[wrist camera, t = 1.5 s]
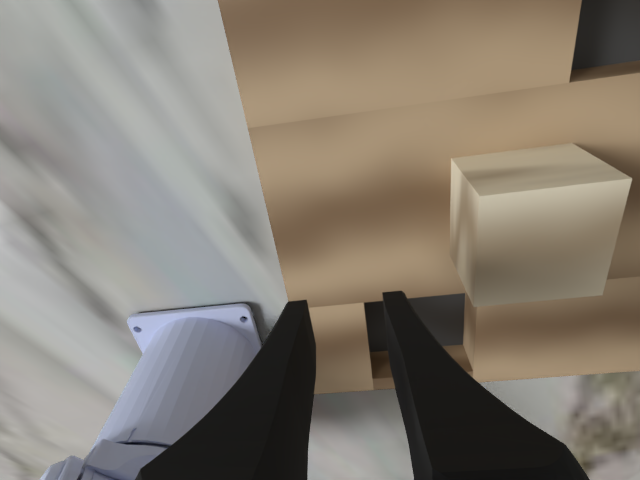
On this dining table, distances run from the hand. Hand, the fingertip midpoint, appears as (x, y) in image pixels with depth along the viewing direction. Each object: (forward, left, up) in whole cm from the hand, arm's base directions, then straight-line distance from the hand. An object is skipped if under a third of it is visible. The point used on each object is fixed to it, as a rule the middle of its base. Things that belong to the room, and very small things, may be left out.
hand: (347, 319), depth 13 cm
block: (0, -8, -7) cm, 10 cm away
